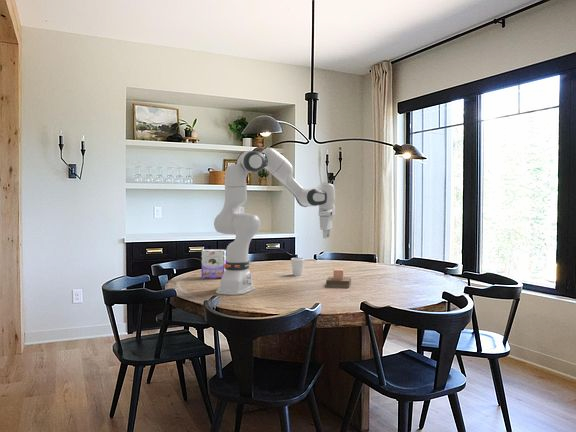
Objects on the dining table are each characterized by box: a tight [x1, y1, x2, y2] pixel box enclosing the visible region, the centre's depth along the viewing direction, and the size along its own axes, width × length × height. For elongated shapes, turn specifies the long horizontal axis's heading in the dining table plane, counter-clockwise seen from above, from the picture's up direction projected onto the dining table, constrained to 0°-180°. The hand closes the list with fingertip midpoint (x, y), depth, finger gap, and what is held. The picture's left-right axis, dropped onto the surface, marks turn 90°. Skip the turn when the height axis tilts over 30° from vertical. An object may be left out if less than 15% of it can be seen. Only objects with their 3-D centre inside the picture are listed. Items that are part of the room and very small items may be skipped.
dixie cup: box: [290, 257, 305, 277], centre depth 284 cm, size 8×8×10 cm
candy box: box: [200, 249, 227, 279], centre depth 274 cm, size 14×6×16 cm, turn 84°
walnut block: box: [325, 276, 352, 289], centre depth 252 cm, size 12×12×4 cm
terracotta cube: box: [332, 268, 345, 280], centre depth 251 cm, size 5×5×5 cm
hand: (326, 237), depth 257 cm, fingers open, 8 cm apart
